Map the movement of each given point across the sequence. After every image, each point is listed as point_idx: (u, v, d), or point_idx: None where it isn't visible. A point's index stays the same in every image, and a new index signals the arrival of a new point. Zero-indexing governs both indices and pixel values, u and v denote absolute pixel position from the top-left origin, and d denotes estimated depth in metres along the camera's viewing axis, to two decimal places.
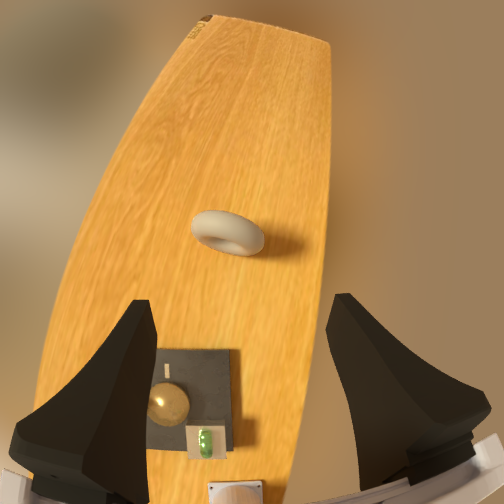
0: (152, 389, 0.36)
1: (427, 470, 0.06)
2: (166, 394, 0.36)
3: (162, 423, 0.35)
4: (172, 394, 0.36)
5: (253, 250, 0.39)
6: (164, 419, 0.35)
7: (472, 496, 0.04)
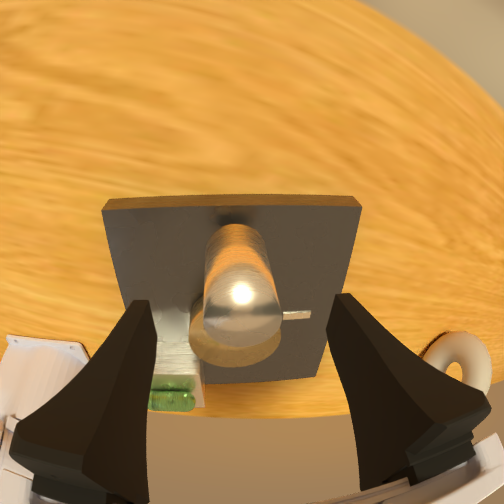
0: None
1: (427, 470, 0.06)
2: None
3: (193, 335, 0.19)
4: (257, 348, 0.20)
5: None
6: (203, 338, 0.19)
7: (473, 496, 0.04)
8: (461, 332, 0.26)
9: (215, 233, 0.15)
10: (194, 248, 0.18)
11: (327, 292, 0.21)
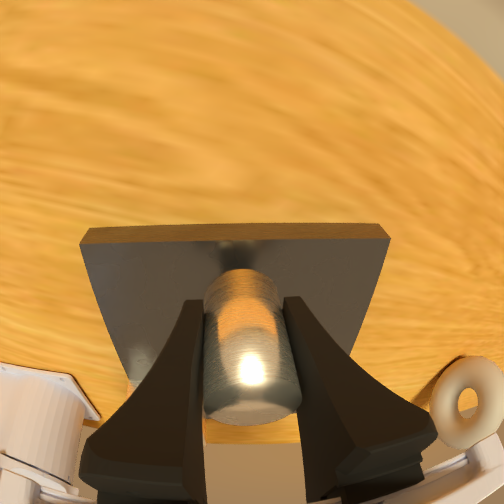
0: None
1: (361, 493, 0.05)
2: None
3: None
4: None
5: (439, 435, 0.23)
6: None
7: (472, 496, 0.04)
8: (478, 357, 0.23)
9: (216, 281, 0.12)
10: (191, 288, 0.15)
11: (344, 330, 0.18)
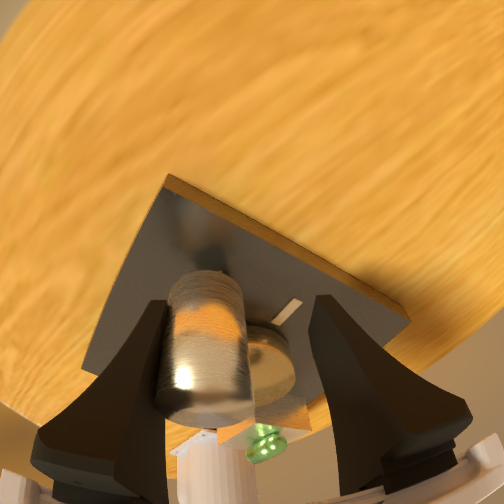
0: (276, 362, 0.15)
1: (403, 479, 0.06)
2: (270, 382, 0.16)
3: None
4: (271, 388, 0.17)
5: None
6: None
7: (473, 496, 0.04)
8: None
9: (173, 287, 0.12)
10: None
11: (277, 271, 0.15)
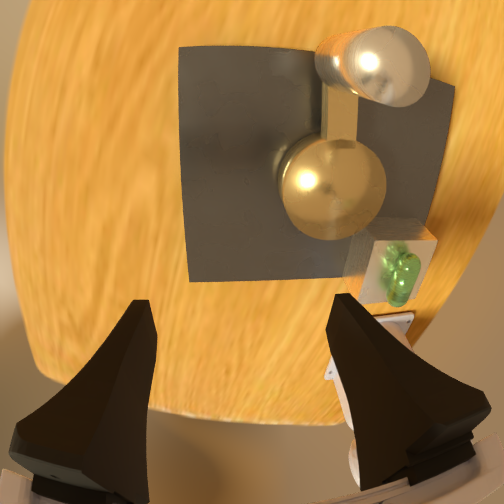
0: (376, 163, 0.15)
1: (427, 470, 0.06)
2: (363, 194, 0.16)
3: (291, 183, 0.16)
4: (361, 206, 0.17)
5: None
6: (301, 189, 0.16)
7: (472, 496, 0.04)
8: None
9: (326, 39, 0.11)
10: (227, 212, 0.19)
11: (302, 69, 0.14)
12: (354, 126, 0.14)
